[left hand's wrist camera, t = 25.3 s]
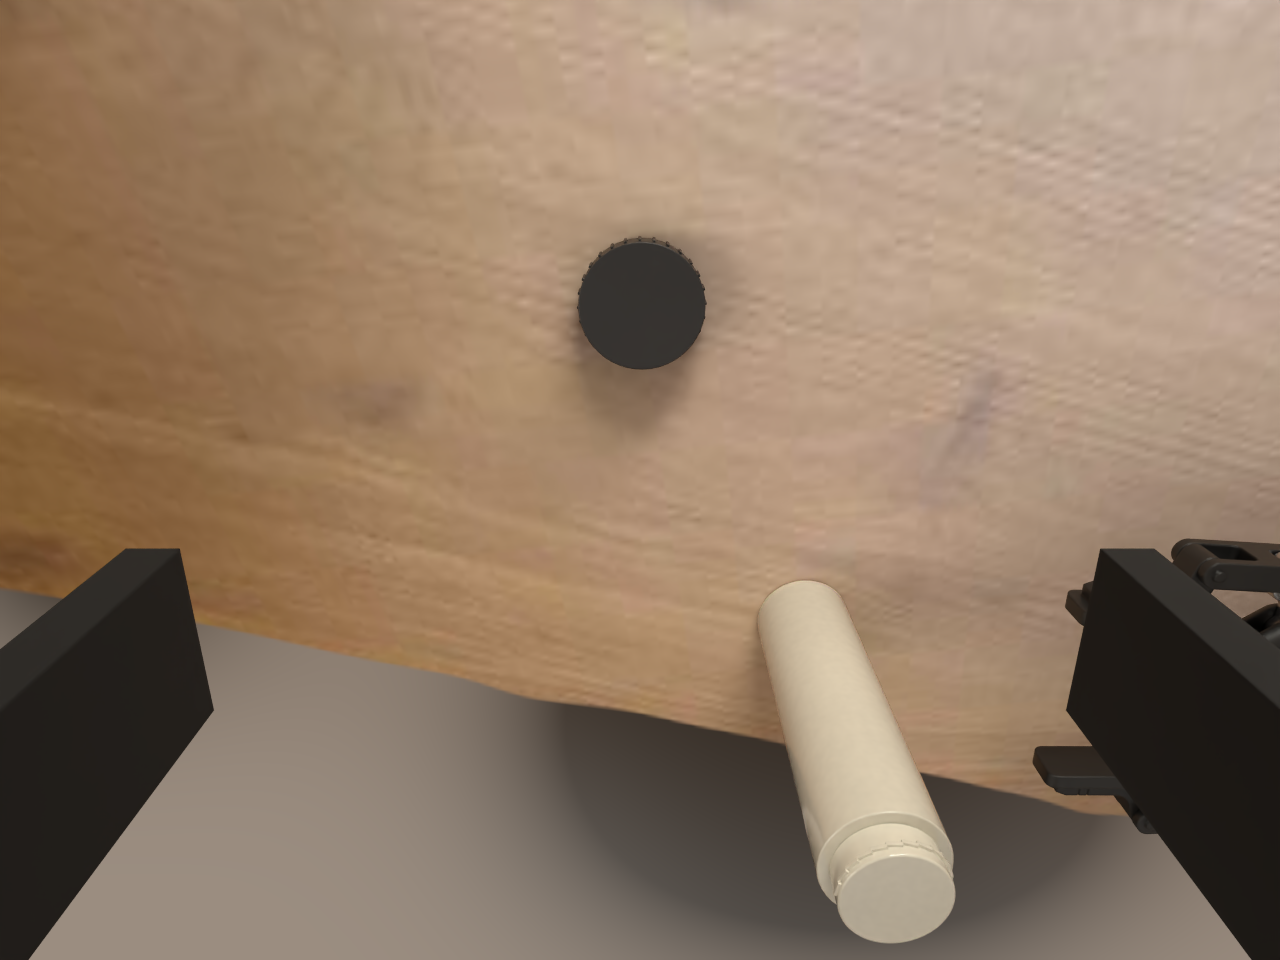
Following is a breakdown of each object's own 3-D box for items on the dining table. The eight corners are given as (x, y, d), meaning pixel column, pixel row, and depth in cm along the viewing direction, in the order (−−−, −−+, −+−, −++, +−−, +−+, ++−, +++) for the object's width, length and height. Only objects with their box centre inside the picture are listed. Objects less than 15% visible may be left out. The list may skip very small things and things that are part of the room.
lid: (590, 370, 41) (588, 379, 40) (569, 246, 39) (566, 251, 37) (711, 352, 41) (713, 361, 39) (696, 227, 39) (698, 231, 37)
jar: (858, 587, 45) (988, 855, 28) (834, 664, 47) (944, 961, 30) (768, 573, 45) (845, 835, 28) (748, 651, 47) (809, 943, 30)
